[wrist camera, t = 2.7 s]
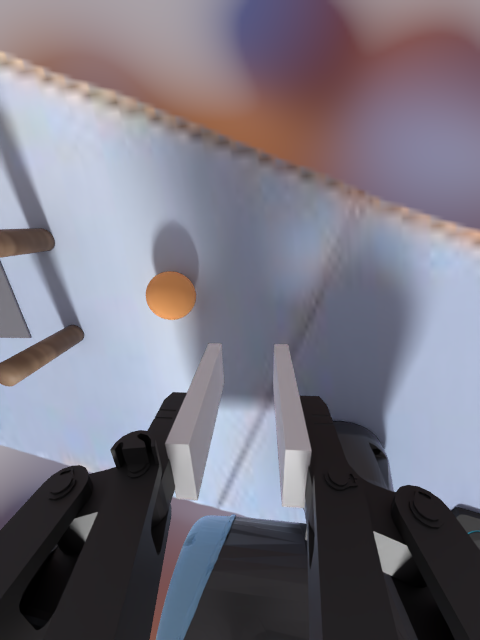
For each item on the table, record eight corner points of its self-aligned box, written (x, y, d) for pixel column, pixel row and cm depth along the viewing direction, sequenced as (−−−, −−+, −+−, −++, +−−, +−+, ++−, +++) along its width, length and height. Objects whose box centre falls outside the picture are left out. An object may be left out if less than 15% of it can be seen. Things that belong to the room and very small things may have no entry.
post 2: (81, 325, 33) (10, 365, 24) (86, 341, 34) (20, 386, 25) (63, 324, 33) (-13, 365, 24) (69, 341, 34) (-2, 385, 25)
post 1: (50, 227, 28) (-54, 231, 19) (57, 250, 29) (-38, 264, 20) (30, 228, 28) (-82, 232, 19) (38, 251, 29) (-65, 264, 20)
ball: (198, 267, 28) (184, 276, 23) (202, 310, 30) (190, 327, 25) (154, 267, 29) (131, 277, 24) (161, 310, 31) (142, 327, 26)
